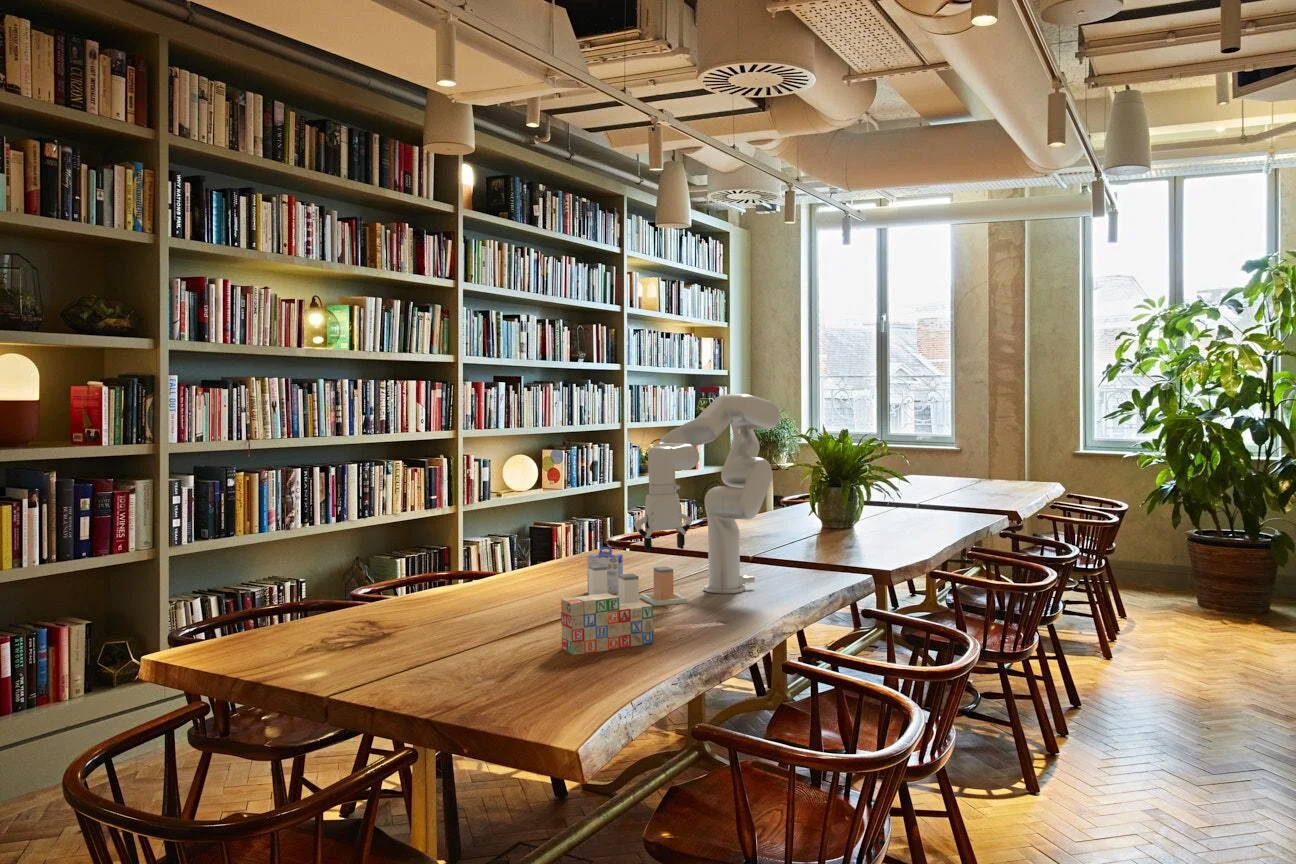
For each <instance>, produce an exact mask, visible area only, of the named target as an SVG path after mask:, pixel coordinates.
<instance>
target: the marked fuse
mask: <svg viewBox="0 0 1296 864" xmlns="http://www.w3.org/2000/svg"><path fill="white" fill-rule="evenodd" d="M673 592H674V568H671V567H669V566H653V593H654V598H653V599H654V600H667V599H675V598H673Z"/></svg>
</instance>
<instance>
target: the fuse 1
mask: <svg viewBox="0 0 1296 864" xmlns="http://www.w3.org/2000/svg"><path fill="white" fill-rule="evenodd" d="M604 593H607V567H606V566H604V565H602V564H600V565H589V593H588V595H595V594H604Z"/></svg>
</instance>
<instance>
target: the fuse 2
mask: <svg viewBox="0 0 1296 864" xmlns="http://www.w3.org/2000/svg"><path fill="white" fill-rule="evenodd" d="M618 577H619V594H618V597H619V604H624V603H633V602H640V599H639V598H640V593H639V591H640V590H639V588H640V585H639V581H640V580H639V577H640V576H638V575H636V574H634V573H623V574H618Z"/></svg>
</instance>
